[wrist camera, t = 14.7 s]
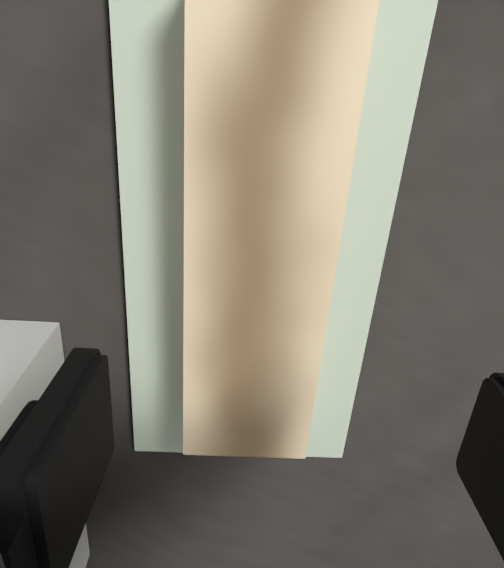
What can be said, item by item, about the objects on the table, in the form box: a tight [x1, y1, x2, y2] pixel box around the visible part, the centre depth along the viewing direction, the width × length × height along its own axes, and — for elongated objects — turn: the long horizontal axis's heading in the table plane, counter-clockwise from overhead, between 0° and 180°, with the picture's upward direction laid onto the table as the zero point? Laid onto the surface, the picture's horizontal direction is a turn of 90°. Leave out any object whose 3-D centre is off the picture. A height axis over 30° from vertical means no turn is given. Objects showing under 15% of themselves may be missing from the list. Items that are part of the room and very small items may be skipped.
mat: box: [109, 0, 438, 458], centre depth 21 cm, size 12×26×1 cm, turn 176°
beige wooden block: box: [183, 0, 380, 459], centre depth 19 cm, size 6×20×3 cm, turn 176°
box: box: [0, 320, 90, 568], centre depth 23 cm, size 5×18×8 cm, turn 176°
